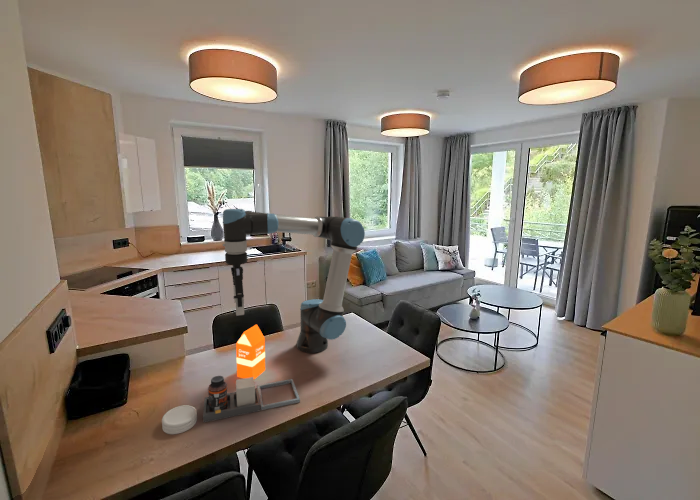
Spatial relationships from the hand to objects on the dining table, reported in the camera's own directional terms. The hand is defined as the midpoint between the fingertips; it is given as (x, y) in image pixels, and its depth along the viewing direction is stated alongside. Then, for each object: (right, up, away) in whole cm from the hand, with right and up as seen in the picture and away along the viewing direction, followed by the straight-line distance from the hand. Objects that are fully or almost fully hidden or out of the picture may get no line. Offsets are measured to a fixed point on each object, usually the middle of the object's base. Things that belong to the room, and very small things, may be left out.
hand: (239, 308), depth 121 cm
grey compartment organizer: (0, -33, -7) cm, 34 cm away
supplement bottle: (-4, -33, -9) cm, 35 cm away
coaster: (-14, -35, -16) cm, 41 cm away
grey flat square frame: (+14, -32, 0) cm, 35 cm away
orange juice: (+1, -30, +14) cm, 33 cm away
